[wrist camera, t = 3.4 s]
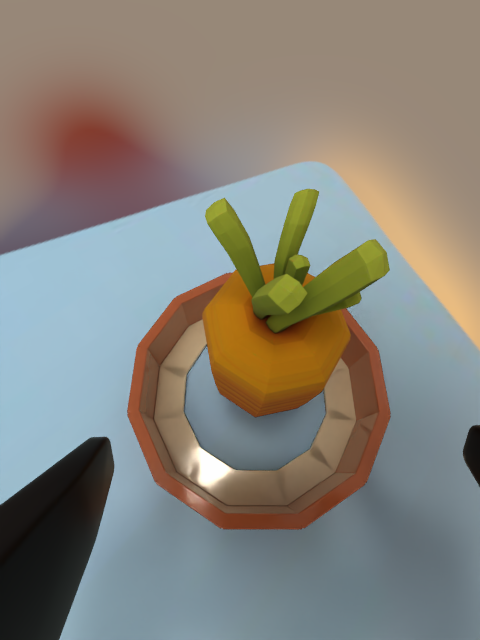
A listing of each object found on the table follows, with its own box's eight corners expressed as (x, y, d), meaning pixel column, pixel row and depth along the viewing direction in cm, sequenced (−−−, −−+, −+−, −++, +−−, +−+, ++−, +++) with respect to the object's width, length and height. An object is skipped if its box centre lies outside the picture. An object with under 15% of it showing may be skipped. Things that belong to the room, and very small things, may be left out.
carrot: (199, 383, 20) (130, 198, 6) (263, 341, 21) (320, 114, 8) (244, 454, 18) (281, 410, 5) (311, 404, 20) (493, 256, 6)
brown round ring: (407, 435, 19) (442, 429, 16) (209, 574, 16) (203, 601, 13) (285, 272, 24) (293, 241, 20) (115, 355, 21) (93, 334, 17)
